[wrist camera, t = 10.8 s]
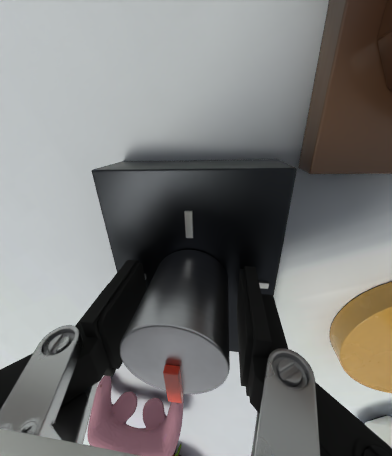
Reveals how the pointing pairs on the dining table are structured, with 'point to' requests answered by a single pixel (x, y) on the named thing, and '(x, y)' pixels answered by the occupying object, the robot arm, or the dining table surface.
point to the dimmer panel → (199, 215)
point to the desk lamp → (366, 338)
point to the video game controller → (130, 436)
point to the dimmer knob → (181, 327)
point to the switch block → (352, 92)
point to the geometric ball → (382, 428)
